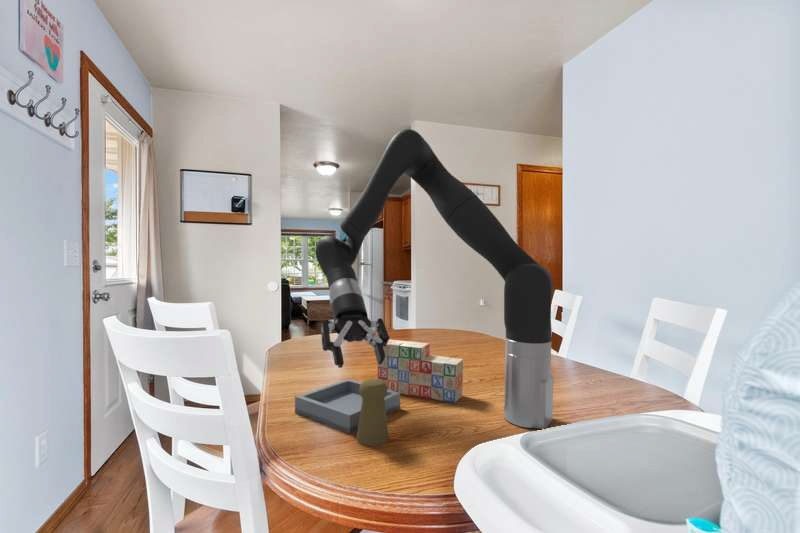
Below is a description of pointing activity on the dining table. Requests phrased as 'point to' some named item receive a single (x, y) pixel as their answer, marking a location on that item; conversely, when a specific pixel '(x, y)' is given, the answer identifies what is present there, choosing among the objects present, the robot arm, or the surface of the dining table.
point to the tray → (339, 404)
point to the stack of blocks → (420, 371)
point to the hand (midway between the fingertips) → (361, 363)
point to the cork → (373, 413)
